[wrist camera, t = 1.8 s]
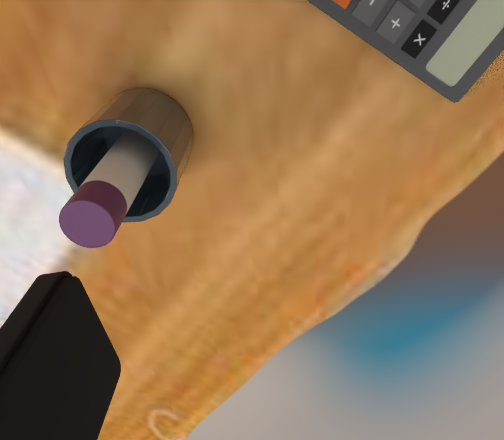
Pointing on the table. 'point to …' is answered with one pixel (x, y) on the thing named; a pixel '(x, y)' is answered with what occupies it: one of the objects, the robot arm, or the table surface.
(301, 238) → the table surface
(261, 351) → the table surface
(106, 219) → the glue stick
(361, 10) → the calculator
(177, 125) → the pen cup
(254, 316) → the table surface
